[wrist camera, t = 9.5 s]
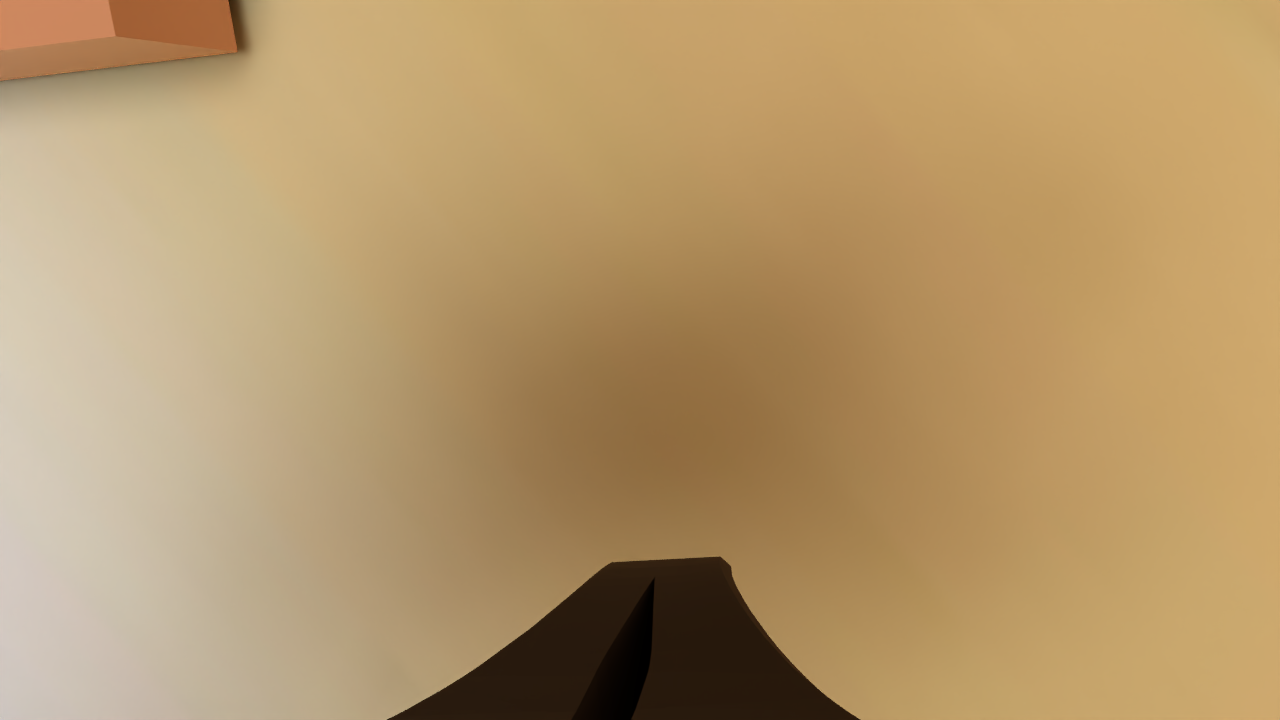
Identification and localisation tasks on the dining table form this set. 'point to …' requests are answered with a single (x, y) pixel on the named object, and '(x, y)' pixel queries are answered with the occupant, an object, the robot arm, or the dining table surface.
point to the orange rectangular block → (108, 33)
